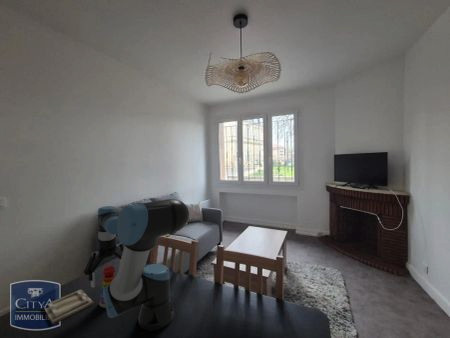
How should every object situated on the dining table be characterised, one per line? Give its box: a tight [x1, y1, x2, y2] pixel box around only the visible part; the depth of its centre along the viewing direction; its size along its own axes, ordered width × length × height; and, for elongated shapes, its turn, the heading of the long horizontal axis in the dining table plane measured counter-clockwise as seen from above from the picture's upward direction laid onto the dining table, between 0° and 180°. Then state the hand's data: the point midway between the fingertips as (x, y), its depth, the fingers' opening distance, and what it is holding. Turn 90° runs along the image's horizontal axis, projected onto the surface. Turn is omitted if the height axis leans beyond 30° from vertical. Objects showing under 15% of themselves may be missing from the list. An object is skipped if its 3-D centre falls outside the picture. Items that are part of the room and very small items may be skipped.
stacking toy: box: [98, 264, 116, 309], centre depth 103 cm, size 8×8×19 cm
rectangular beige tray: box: [42, 289, 94, 326], centre depth 101 cm, size 16×16×2 cm
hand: (108, 279), depth 103 cm, fingers open, 13 cm apart
